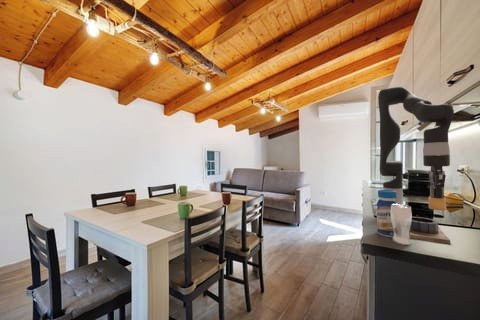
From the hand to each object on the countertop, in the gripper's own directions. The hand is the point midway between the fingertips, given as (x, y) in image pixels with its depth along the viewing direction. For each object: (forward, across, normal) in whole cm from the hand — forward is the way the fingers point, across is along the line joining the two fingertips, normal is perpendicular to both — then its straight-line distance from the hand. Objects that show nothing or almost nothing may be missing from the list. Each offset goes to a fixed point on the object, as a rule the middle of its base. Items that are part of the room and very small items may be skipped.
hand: (437, 197), depth 79 cm
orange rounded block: (+5, 0, 0) cm, 5 cm away
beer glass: (+19, +5, -12) cm, 23 cm away
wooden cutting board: (+19, -13, -3) cm, 23 cm away
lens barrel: (+17, -13, -3) cm, 22 cm away
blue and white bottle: (+19, -3, -16) cm, 25 cm away
